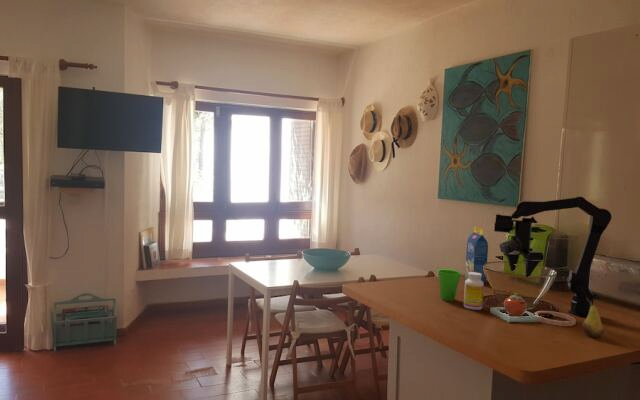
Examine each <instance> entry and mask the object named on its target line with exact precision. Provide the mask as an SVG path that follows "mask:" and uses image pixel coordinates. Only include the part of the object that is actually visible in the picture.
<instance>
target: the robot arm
mask: <svg viewBox="0 0 640 400" xmlns="http://www.w3.org/2000/svg"><path fill="white" fill-rule="evenodd" d="M575 208H578V209H580V210H581V211H583V212H584V213H585V214H587V215H588V216H589V225H588V232H587V236H586V239H585V242H584V245H583V248H582V251H581V254H580V257H579V261H578V262H577V263H578V264H577V266H576V267H575V269H574V270H572V269H570V270H569V274H568V277H567V278H566V281H567V285H568V286H567V287H569V289H570V291H571V292H572V293H573V294H574V296H572V299H571V300H570V301H571V302H570V310H567V312H568V313H571V314H573V315H576V316H578V317H583V318H584V317H586V318H587V316H588V314H589V310H590V307H591V304H592V305H594V298H595V295H594V294H593V292H592V291H591V290H590V289H589V283H590V282H589V280H590V270H591V267H592V263H593V261H594V257H595V254H596V252H597V249H598V246H599V243H600V240H601V236H602V235H603V233H604V231H605V230H606V229H607V227H608V226H609V225H610V222H611V221H612V213H611V212H610V211H609V210H608V209H605V208H602V207H598V206H596V205H595V204H593V203H592V202H590V201H588V200H587V199H586V198H585V197H583V196H579V195H577V196H574V197H568V198H561V199H551V200H545V201H538V200H537V201H535V200H522V201H519V202H518V203H517V205H516V209H515V211H514V212H513V213H511V215H509V214H508V215H506V214H505V215H504V214H500V213H497V214H495V221H494V229H493V232H495V233H507V234H511V233H510V232H511V231H512V232H513V231H514V235H512V236H511V237H510V240H506V241H503V242H501V243H499V244H498V245H499V250H500V252H501V253H502V255H504V257H506V259H507V262H508V265H509V268H510V272H511V271H513V270H516V268H517V265H518V262H519V258H520V255H521V256H523V258H522V261H523V262H524V264H525V278H527V277H528V276H530V277H531V276H532V274H533V272H534V270H535V269H536V267H537V266H538V265H539V264H540V263H542V261H544V260H545V255H544V253H543V252H542V251H538V250H533V248H531V241H534V237H532V225H533V224H538V221H537V220H536V219H535V217H534V216H533V215H537V214H539V213H544V212H550V211H558V210H565V209H566V210H567V209H575ZM530 216H531V217H530ZM521 217H522V218H521ZM529 217H530V218H529ZM519 218H521V219H519ZM514 222H515V225H514ZM514 264H517V265H516V266H515V265H514ZM586 297H587V298H588V300H589V301H590V303H591V304H590V303H589V301H588V300H587V299H586Z"/></svg>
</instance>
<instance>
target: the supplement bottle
mask: <svg viewBox="0 0 640 400" xmlns="http://www.w3.org/2000/svg"><path fill="white" fill-rule="evenodd" d="M468 277H469V279H465V281H464V291H463V292H464V293H463V307H464V308H466V309H469V310H475V311H480V310H481V309H483V302H484V287H485V285H484V284H485V283H483V281H481V277H482V274H480V273H476V272H469V273H468Z"/></svg>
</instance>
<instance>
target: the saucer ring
mask: <svg viewBox="0 0 640 400" xmlns="http://www.w3.org/2000/svg"><path fill="white" fill-rule="evenodd" d="M540 313H549V314H552V315H553V316H552V317H557V318H560V319H564V320H555V319H549V318H545V317H543V316H542V315H540V316H539V315H538V314H540ZM533 314H535V315H537V316H539V317H540V319H539V322H541V323H544V324H547V325H553V326H557V327H558V326H559V327H572V326H574V325H576V322H577V321H576V318H575V317H574V316H571V315H570V314H566V313H563V312H557V311H552V310H551V311H550V310H538V311H535V312H534V313H533Z"/></svg>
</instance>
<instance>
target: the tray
mask: <svg viewBox="0 0 640 400" xmlns="http://www.w3.org/2000/svg"><path fill="white" fill-rule="evenodd" d="M500 310H505V308H504V307H490V310H489V313H490V314H492V315H493V316H495V317H498V318H499V319H501V320H503V321H505V322H507V323H509V322H519V323H540V321H539V319H540V317H539V316H537V315H534V313H532V312H530V311H528V310H527V309H526V310H525V312H524V313H527V314H528V315H529V316H519V317H512V316H510V315H508V314H506V313H502V312H500Z"/></svg>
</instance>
